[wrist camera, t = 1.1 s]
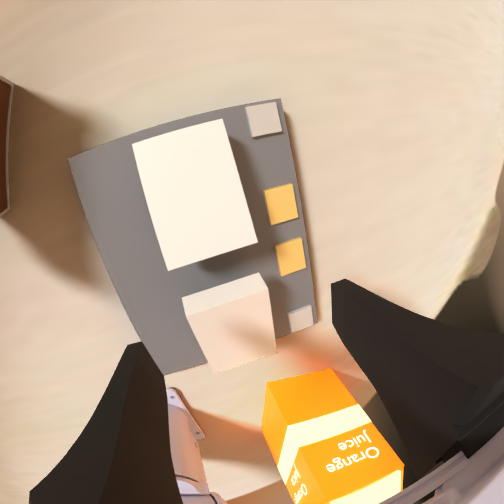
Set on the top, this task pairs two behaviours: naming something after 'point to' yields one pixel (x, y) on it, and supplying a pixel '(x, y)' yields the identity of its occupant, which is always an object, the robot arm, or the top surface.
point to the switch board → (211, 269)
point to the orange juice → (327, 443)
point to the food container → (5, 142)
